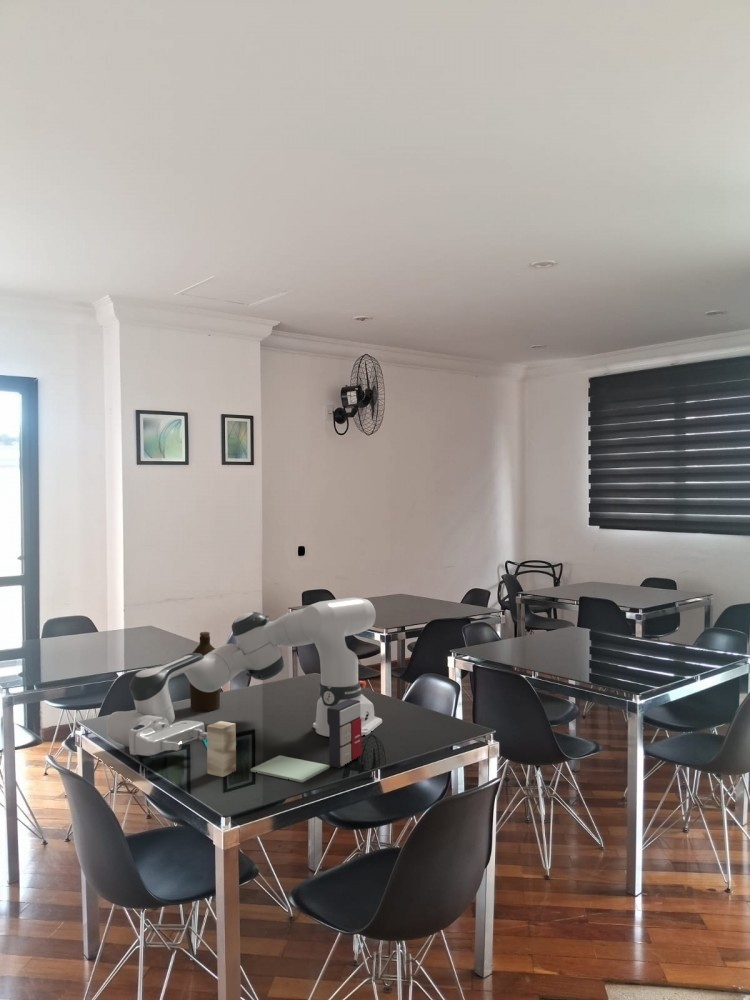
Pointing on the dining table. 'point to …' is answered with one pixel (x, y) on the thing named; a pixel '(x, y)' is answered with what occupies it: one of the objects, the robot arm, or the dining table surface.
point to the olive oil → (199, 698)
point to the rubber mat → (290, 768)
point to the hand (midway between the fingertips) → (193, 741)
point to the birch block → (221, 748)
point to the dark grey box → (344, 732)
